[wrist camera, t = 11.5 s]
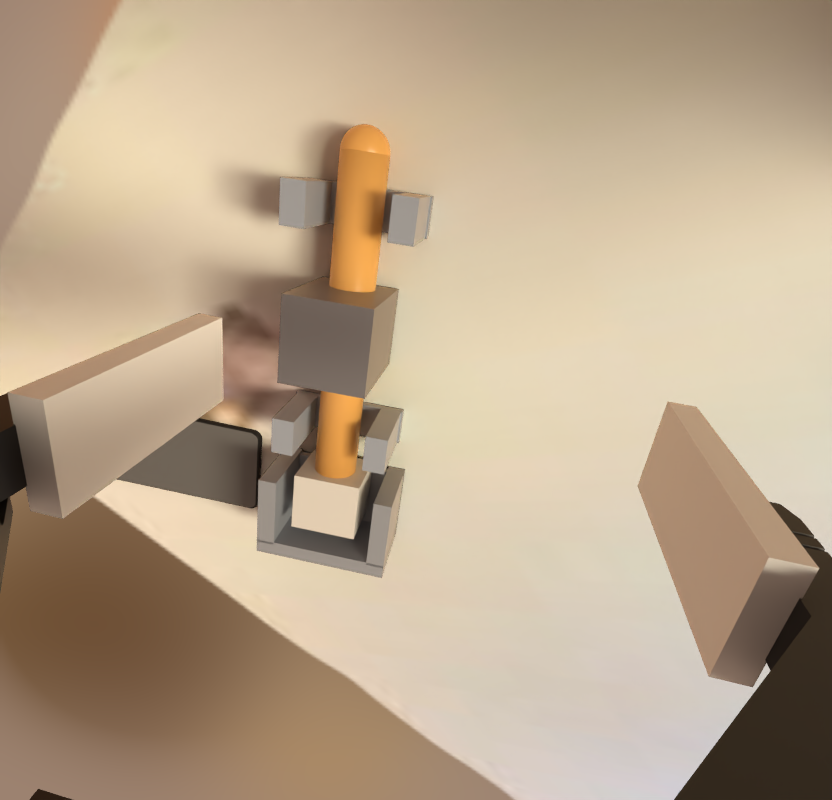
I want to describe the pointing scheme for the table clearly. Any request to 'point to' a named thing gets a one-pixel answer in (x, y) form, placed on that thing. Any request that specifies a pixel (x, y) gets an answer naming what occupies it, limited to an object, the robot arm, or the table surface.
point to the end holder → (322, 548)
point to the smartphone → (205, 463)
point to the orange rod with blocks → (341, 340)
